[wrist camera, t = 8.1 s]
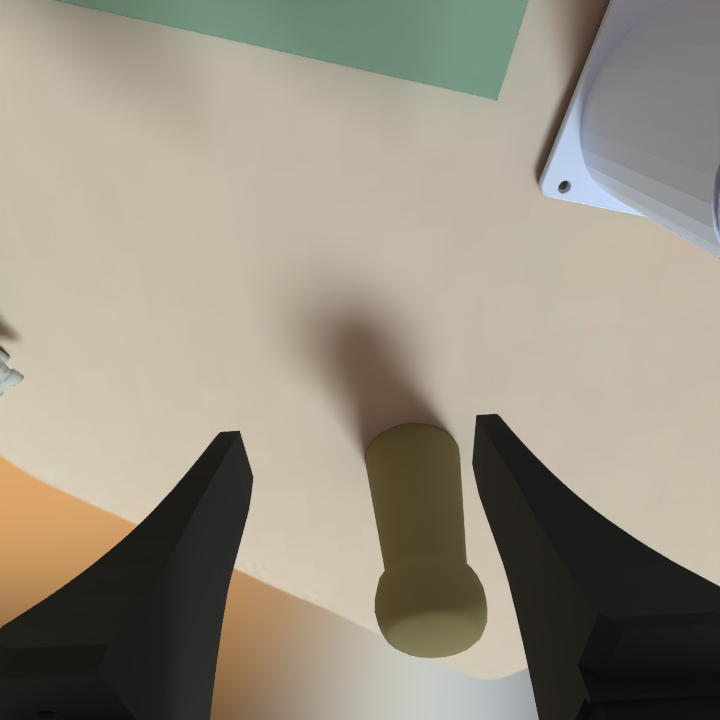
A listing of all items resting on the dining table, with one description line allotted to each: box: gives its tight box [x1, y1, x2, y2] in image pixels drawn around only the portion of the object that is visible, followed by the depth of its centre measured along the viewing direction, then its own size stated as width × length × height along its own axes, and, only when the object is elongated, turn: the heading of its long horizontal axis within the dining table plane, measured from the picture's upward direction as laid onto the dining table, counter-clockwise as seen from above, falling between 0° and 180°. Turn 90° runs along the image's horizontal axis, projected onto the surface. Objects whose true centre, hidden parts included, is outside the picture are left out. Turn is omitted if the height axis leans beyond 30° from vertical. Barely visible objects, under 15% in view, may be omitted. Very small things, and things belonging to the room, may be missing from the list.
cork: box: [365, 423, 487, 658], centre depth 24 cm, size 6×6×11 cm
